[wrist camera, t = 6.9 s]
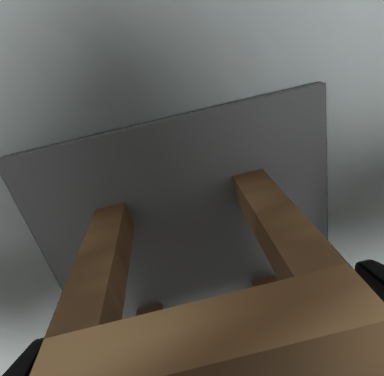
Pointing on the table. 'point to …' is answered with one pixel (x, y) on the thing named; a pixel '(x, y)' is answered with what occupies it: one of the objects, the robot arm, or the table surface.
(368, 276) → the robot arm
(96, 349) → the stool
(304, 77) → the table surface
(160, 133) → the mat
